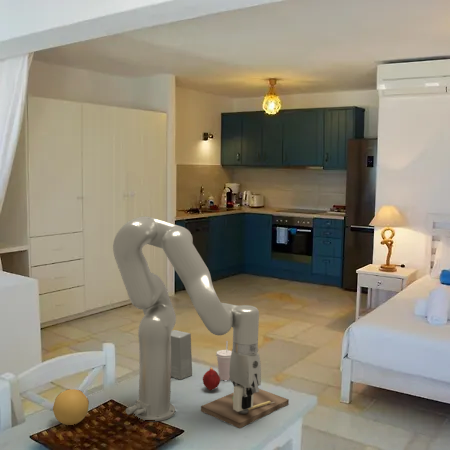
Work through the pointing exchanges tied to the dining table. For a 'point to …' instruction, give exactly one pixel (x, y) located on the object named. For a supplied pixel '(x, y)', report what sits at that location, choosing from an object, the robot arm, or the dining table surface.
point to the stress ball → (70, 407)
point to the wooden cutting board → (226, 413)
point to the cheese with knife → (238, 400)
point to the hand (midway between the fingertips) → (243, 405)
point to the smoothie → (224, 363)
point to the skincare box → (181, 354)
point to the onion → (211, 379)
